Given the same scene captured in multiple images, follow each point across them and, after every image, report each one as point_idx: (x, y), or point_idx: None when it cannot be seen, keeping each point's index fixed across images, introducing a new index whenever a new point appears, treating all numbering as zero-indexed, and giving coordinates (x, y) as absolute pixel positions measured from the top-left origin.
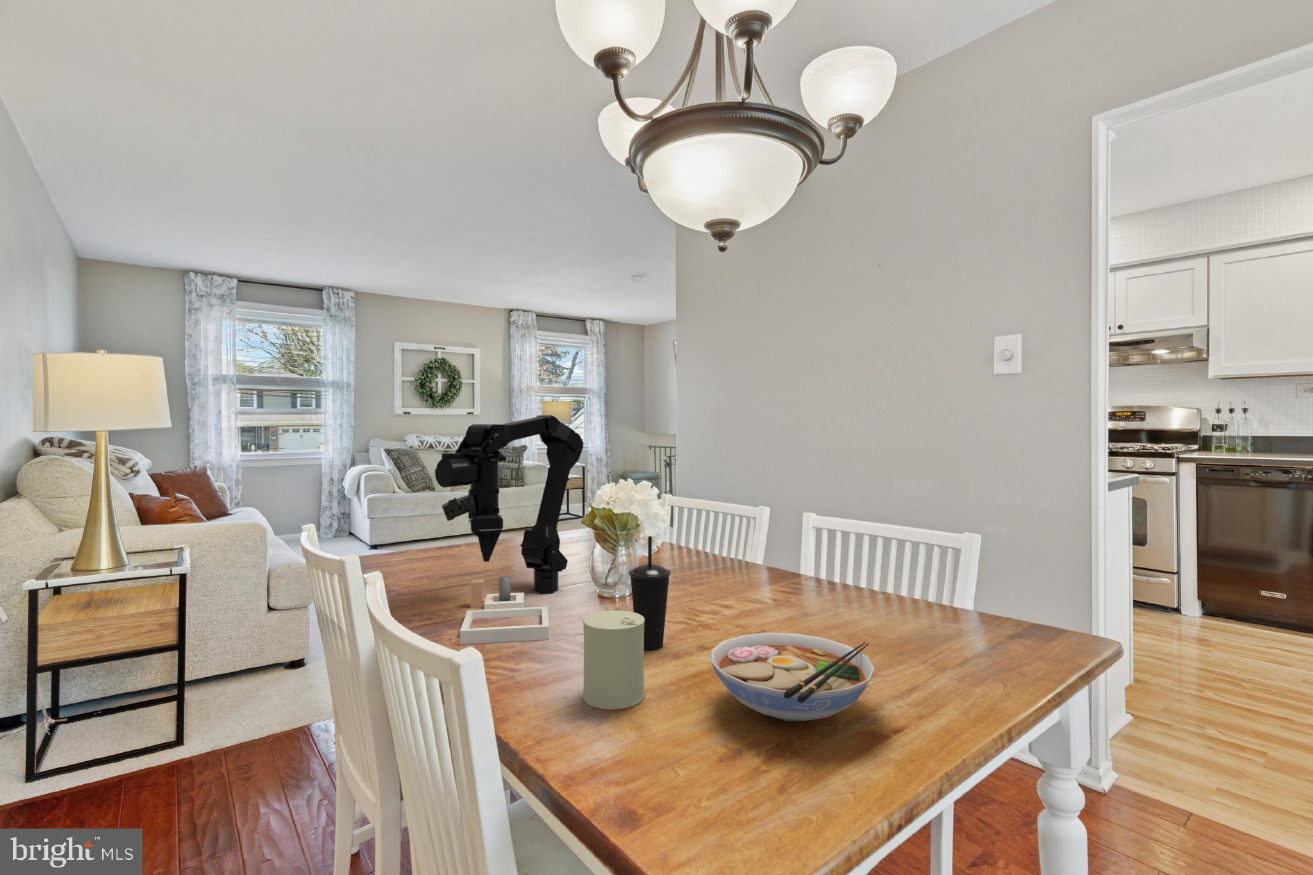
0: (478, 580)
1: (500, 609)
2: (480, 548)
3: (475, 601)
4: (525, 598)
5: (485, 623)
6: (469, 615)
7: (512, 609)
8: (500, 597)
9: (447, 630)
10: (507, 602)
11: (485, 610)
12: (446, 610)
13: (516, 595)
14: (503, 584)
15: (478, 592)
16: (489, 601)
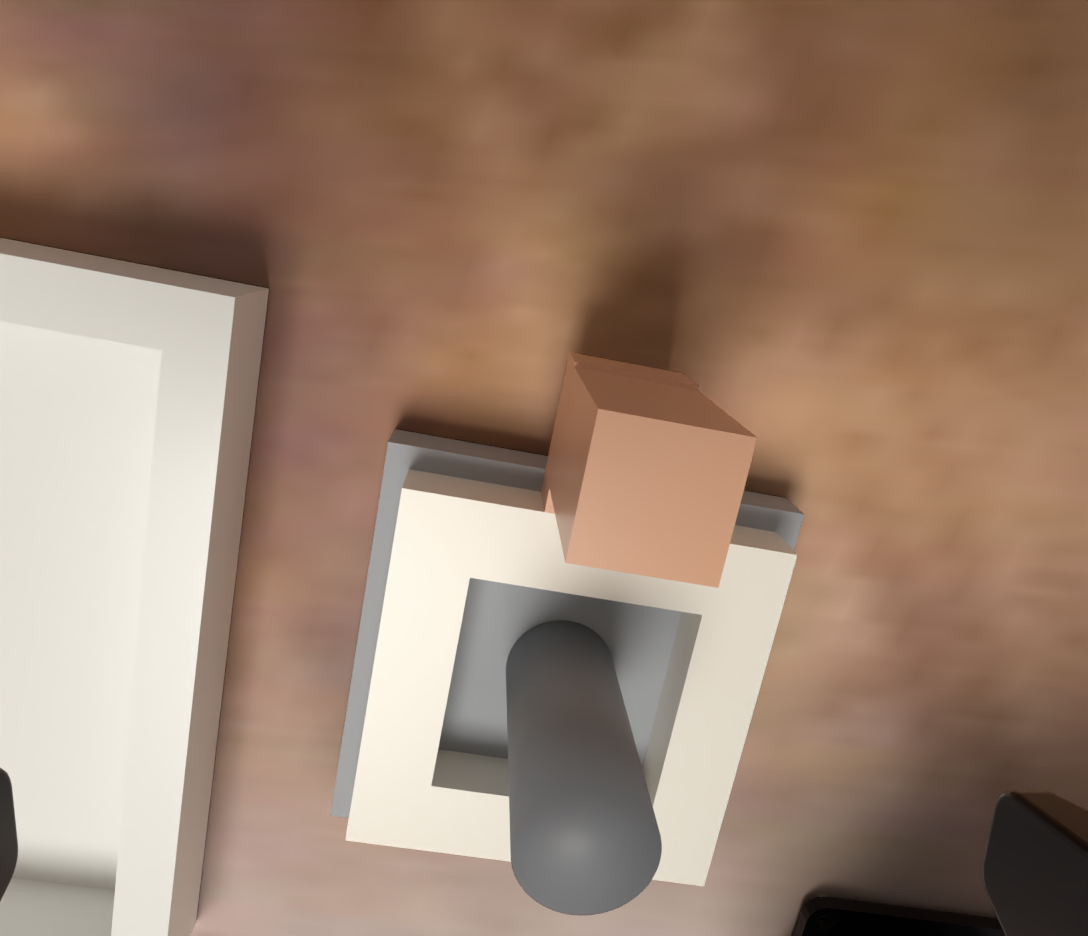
0: (685, 516)
1: (178, 620)
2: (1072, 836)
3: (565, 412)
4: None
5: None
6: (32, 301)
7: (144, 723)
8: (533, 669)
9: (71, 76)
10: (396, 709)
11: (178, 478)
12: (772, 116)
13: None
14: (512, 781)
15: (568, 468)
16: (498, 549)
